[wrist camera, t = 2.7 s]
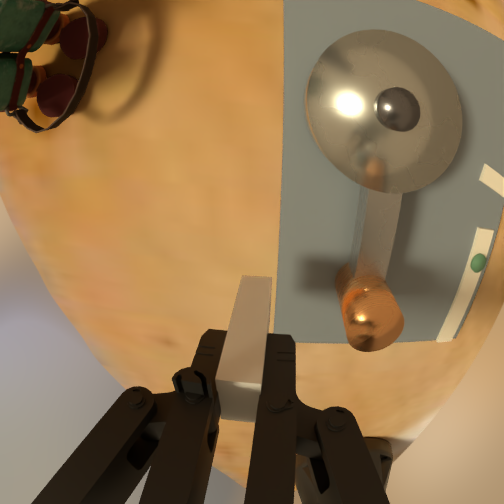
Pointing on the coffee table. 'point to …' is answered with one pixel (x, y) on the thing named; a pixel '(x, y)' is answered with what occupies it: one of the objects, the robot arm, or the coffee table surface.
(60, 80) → the binoculars
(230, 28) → the coffee table surface
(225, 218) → the coffee table surface
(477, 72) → the level board
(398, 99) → the cam lever
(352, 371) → the coffee table surface
